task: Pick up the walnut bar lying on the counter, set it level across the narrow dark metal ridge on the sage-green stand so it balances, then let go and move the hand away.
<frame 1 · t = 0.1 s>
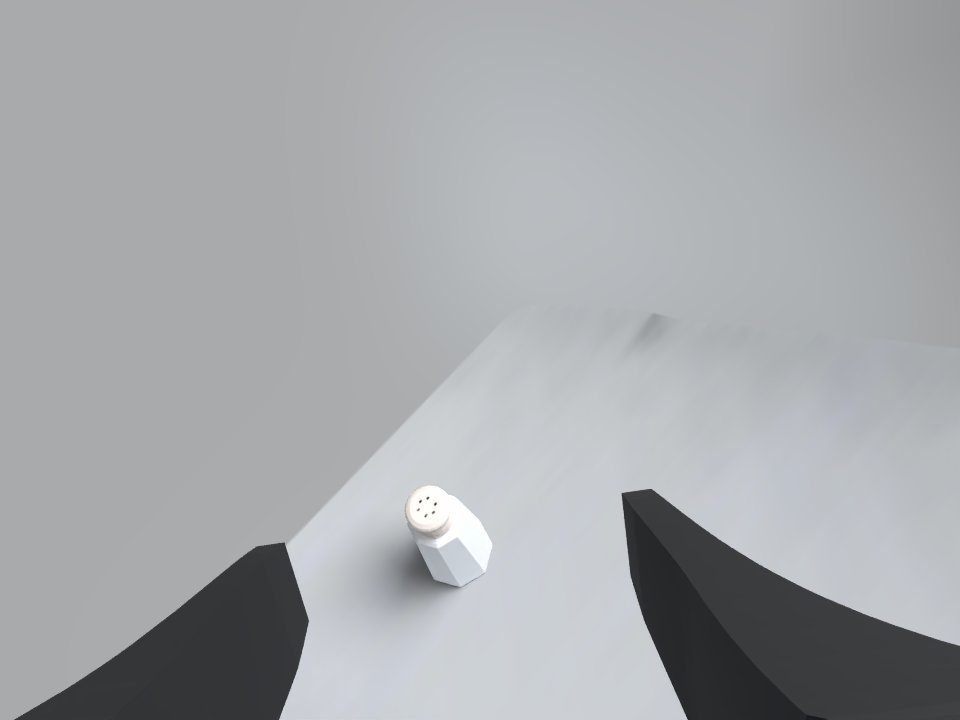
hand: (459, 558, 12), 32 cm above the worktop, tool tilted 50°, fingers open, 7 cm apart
pepper shaker: (458, 550, 44), on the worktop
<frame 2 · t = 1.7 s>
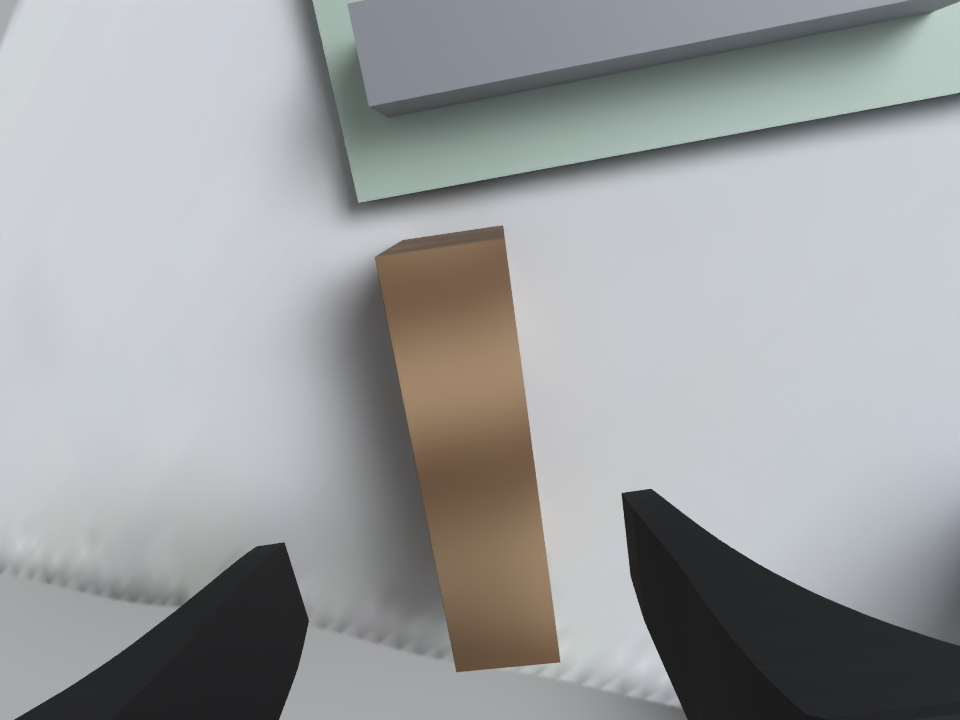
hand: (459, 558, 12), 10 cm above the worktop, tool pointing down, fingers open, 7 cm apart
ridge stand: (605, 38, 18), on the worktop
walnut bar: (481, 417, 22), on the worktop
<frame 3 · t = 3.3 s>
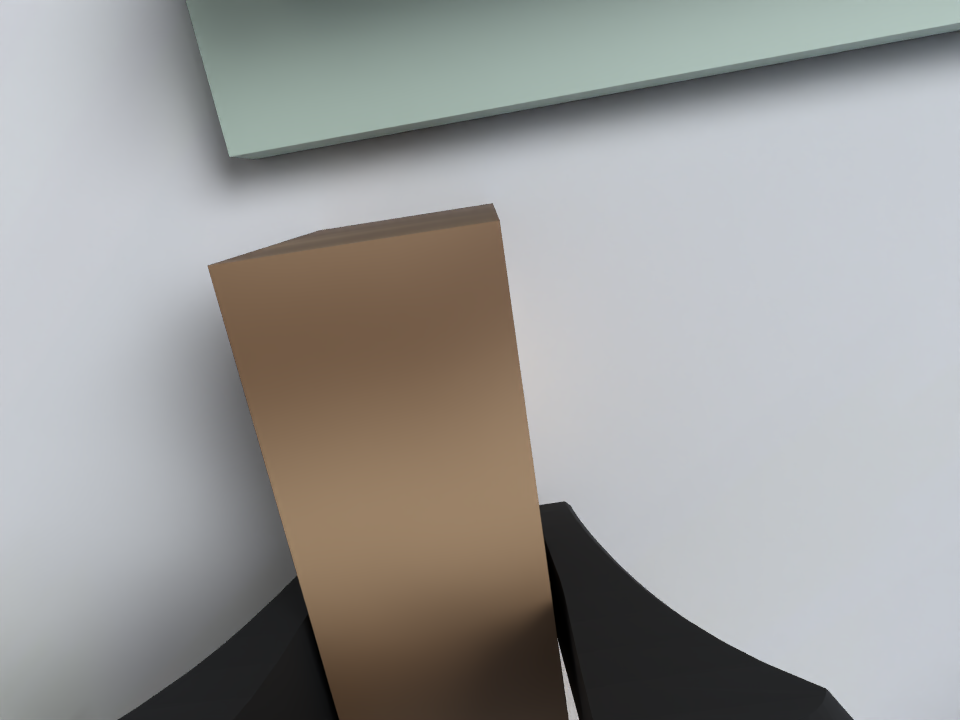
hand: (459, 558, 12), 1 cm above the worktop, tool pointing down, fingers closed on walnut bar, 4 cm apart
walnut bar: (461, 520, 14), on the worktop, touching gripper
when the fingers open (6 cm above the worktop, at t = 7.0 s): walnut bar stays where it is, resting on ridge stand.
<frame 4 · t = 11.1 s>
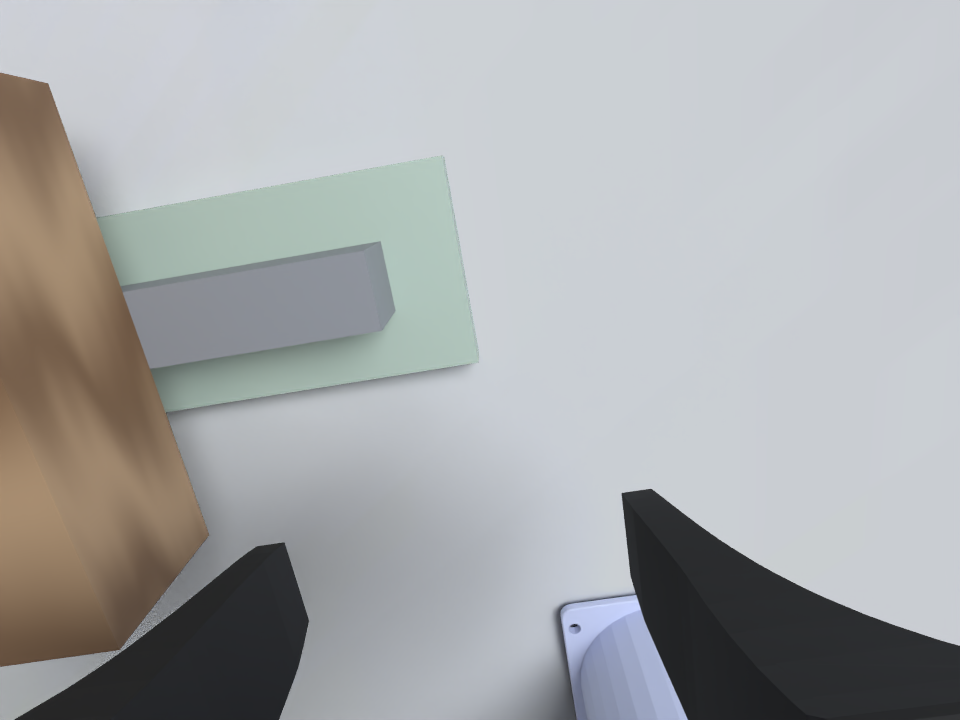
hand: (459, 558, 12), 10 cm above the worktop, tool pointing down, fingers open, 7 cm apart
ridge stand: (153, 312, 21), on the worktop
walnut bar: (82, 344, 18), point 4 cm above the worktop, touching ridge stand
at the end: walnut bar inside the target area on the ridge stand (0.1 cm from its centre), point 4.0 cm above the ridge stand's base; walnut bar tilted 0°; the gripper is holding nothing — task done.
